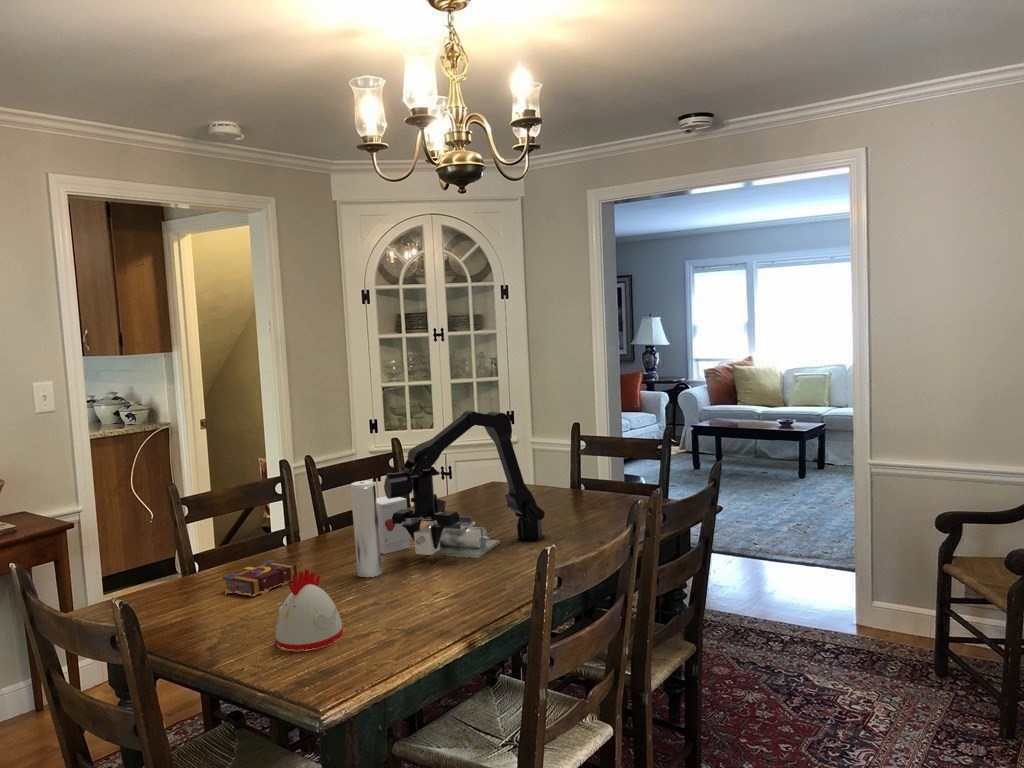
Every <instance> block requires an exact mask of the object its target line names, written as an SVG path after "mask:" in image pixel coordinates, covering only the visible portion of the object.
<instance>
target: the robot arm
mask: <svg viewBox="0 0 1024 768" xmlns="http://www.w3.org/2000/svg"><path fill="white" fill-rule="evenodd" d="M474 426H480V427H484V429H485V430H486V432H487V434H488V436H489V437H490V439H491V440H492V441H493V443H494V445H495V447H496V451H497V454H498V457H499V460H500V463H501V466H502V469H503V472H504V475H505V476H504V477H505V478H506V482H507V485H508V493H506V494H504V498H505V500H506V503H507V508H510V510H511V511H512V512H513V513H514V515H515V517H518V519H517V523H516V524H517V525H516V527H517V528H516V529H517V538H516V539H517V541H525V542H527V541H528V542H539V541H540V540H541V539H542V538H544V537H545V533H543V525H542V523H543V522H542V521H543V519H544V517H545V511H544V510H543V509H541V507H539V506H538V504H537V501H536V499H535V497H534V495H533V494H532V491H531V490H529V488H528V486H526V484H525V480H524V478H523V474H522V472H521V469H520V466H519V462H518V458H517V456H516V452H515V449H514V447H513V443H512V432H513V429H512V421H511V418H510V416H509V415H508V414H506V413H504V412H498V411H489V412H487V413H481V412H477V411H473V410H465V411H464V412H462V414H461V415H460V416H458V417H457V418H456V419H455V420H454V421H453V422H451V423H449V424H448V426H446V427H445V428H443V429H442V430H441V431H440V432H439V433H437V434H436V435H435V436H433V437H432V438H430V439H428V440H426V441H423V442H421V443H419V444H417V445H415V446H413V447H411V448H410V450H409V451H408V452H407V459H406V460H405V462H404V464H403V466H402V468H401V469H400V471H399V472H393V473H392V472H388V473H386V474H385V479H384V484H383V487H384V488H383V489H384V494H385V496H387V498H388V499H391V498H397V497H402V498H403V497H407V496H410V495H411V493H412V497H411V498H410V502H411V503H413V509H414V510H413V509H409V508H407V509H402V510H399V511H397V512H395V513H394V514H393V515H392V523H393V524H401V523H402V522H403V523H404V524H403V525H402V527H405V528H406V530H407V531H408V532H409V536H410V537H411V539H412V541H413V542H414V543H415V540H414V532H416V531H418V530H420V529H421V527H420V526H421V522H422V521H424V522H433V524H435V525H433V526H431V533H432V539H433V545H434V548H435V549H437V548H438V544H439V541H440V537H441V533H442V531H443V528H444V527H445V526H452V525H453V524H455V523H457V522H459V521H460V519H459V516H460V514H459V513H458V511H456V510H455V511H452V510H451V511H449V510H446V503H447V501H446V500H443V499H438V495H437V494H436V493H435V492H434V479H433V477H434V476H439V475H440V471H438V470H437V469H436V468H435V467H434V466H433V465H434V464H435V463H436V462H437V460H439V458H440V456H441V454H442V453H443V452H444V451H445V449H446V448H448V447H449V446H450V445H452V444H453V443H454V442H455V441H456V440H458V439H459V438H460V437H462V436H463V435H464V434H465V433H466V432H468V431H469V430H470V429H471V428H474ZM440 512H441V513H440ZM438 513H439V514H438Z"/></svg>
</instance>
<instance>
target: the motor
mask: <svg viewBox="0 0 1024 768" xmlns="http://www.w3.org/2000/svg"><path fill="white" fill-rule="evenodd" d="M459 519H460V521H459V522H457V523H455V524H453V525H452V526H445V527H444V528H443V531H442V533H441V537H440V550H439V551H437V552H435V553H434V554H432V555H431V556H441V555H446V556H445V557H455V556H456V557H458V558H469V557H471V559H472V558H473V559H474V558H475V559H480V558H481V557H482V555H483V556H484V555H486V554H487V553H488V552H490V551H491V550H493V549H495V548H496V547H497V546H499V545H500V544H501V540H497V539H491V536H489V535H488V534H487V533H488V532H487V529H486V528H485V527H482V526H475V525H476V521H473V516H463V515H462V516H460V515H459ZM433 525H435V524H434V523H428V524H427V525H426V526H425V528H431V526H433ZM498 544H499V545H498ZM495 546H496V547H495ZM492 548H493V549H492ZM489 550H490V551H489ZM486 552H487V553H486ZM479 557H480V558H479Z"/></svg>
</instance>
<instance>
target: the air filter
mask: <svg viewBox="0 0 1024 768" xmlns="http://www.w3.org/2000/svg"><path fill="white" fill-rule="evenodd" d="M376 491H377V490H376V485H375V484H374V483H373V481H371V480H361V481H360V480H359V481H354V482H352V483H351V485H350V497H351V510H352V522H353V532H354V535H353V536H354V544H355V556H356V570H357V576H358V577H359V576H360V577H367V578H366V579H369V578H368V577H372V578H376V577H379V576H381V575H382V574H383V566H382V553H381V551H380V539H379V527H378V515H377V502H376V498H377V492H376ZM380 574H381V575H380ZM378 575H379V576H378ZM375 576H376V577H375ZM360 577H359V578H360Z"/></svg>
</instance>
